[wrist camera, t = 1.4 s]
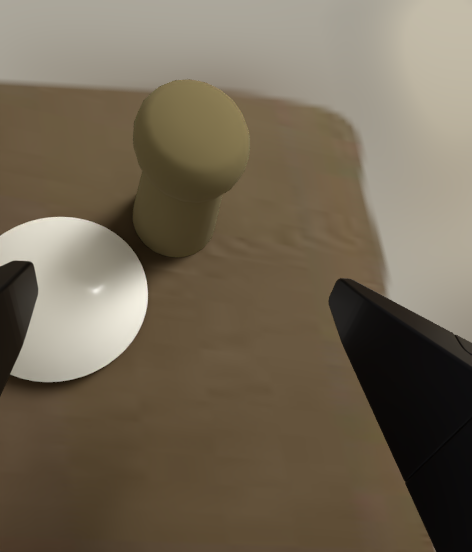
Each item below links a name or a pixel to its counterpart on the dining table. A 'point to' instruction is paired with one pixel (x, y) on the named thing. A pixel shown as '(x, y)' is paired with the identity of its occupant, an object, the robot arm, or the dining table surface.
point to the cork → (185, 164)
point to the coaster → (76, 297)
